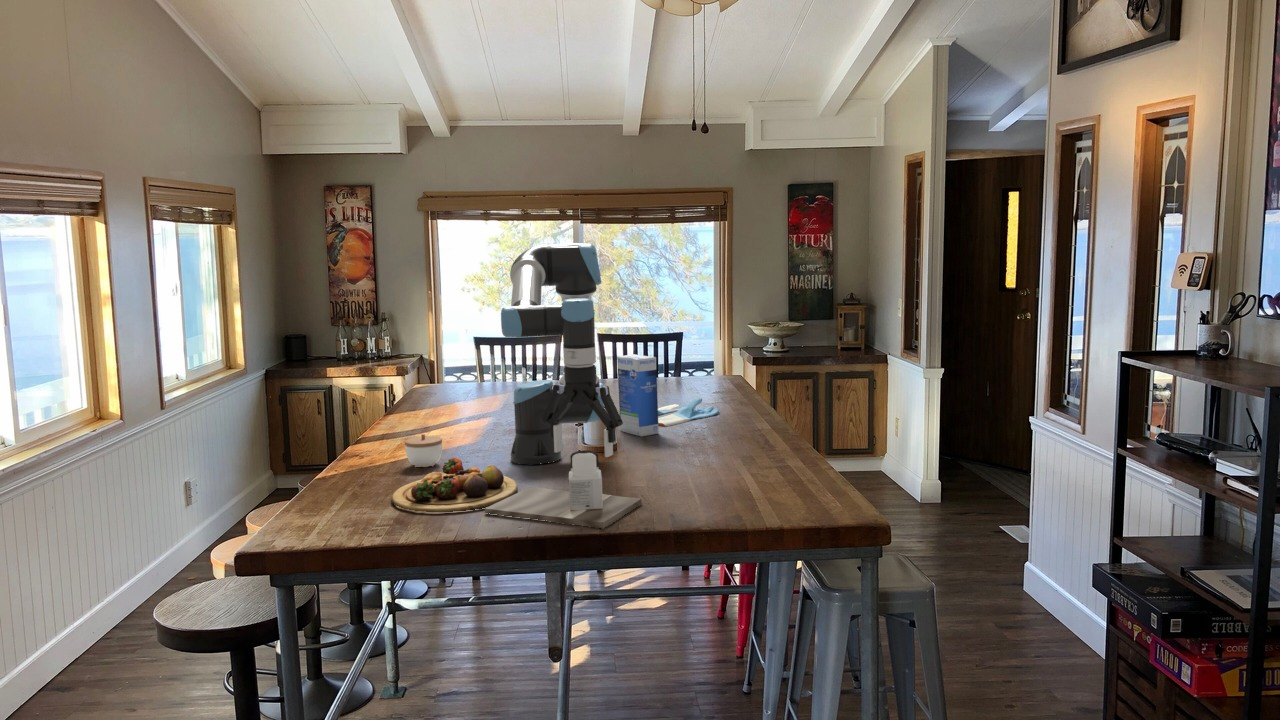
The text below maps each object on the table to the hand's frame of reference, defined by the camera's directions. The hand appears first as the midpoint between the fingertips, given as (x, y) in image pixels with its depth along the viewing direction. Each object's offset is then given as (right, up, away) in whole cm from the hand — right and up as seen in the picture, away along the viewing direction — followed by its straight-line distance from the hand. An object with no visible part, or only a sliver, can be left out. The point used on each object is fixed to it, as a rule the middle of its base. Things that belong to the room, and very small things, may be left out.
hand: (583, 453), depth 215 cm
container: (+1, -13, +1) cm, 13 cm away
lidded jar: (-50, -9, +53) cm, 74 cm away
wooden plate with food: (-34, -14, +19) cm, 42 cm away
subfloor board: (-5, -14, +4) cm, 15 cm away
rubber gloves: (+25, +1, +119) cm, 121 cm away
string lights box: (+13, -2, +90) cm, 91 cm away
